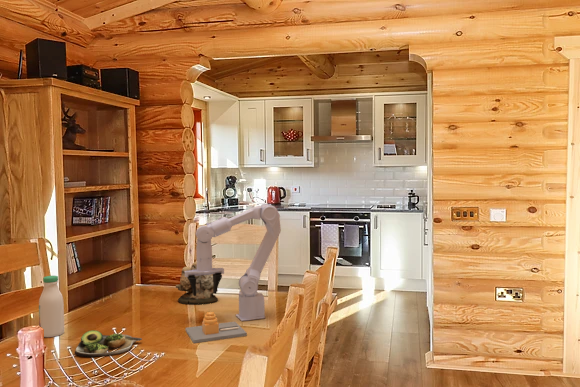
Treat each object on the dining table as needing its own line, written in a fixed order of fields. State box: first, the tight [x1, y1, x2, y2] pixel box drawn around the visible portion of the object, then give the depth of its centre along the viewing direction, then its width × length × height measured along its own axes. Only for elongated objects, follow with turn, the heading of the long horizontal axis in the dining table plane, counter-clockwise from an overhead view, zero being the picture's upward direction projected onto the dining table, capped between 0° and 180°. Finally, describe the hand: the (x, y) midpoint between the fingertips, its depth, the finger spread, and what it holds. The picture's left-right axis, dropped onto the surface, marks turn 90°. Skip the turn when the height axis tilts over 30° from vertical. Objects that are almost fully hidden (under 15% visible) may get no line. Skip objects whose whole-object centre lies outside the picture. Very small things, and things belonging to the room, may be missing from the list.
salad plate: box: [74, 329, 143, 358], centre depth 155 cm, size 19×18×5 cm
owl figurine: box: [175, 261, 219, 306], centre depth 210 cm, size 18×12×17 cm, turn 94°
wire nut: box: [201, 311, 219, 335], centre depth 166 cm, size 5×5×7 cm
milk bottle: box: [38, 275, 65, 338], centre depth 167 cm, size 8×8×20 cm
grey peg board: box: [185, 321, 248, 344], centre depth 167 cm, size 18×14×4 cm
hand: (204, 294), depth 182 cm, fingers open, 7 cm apart
